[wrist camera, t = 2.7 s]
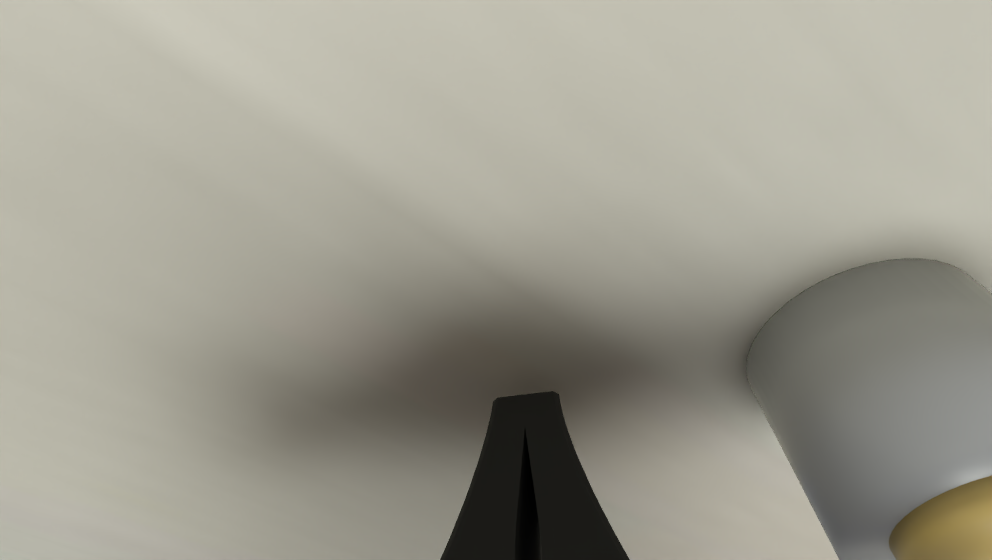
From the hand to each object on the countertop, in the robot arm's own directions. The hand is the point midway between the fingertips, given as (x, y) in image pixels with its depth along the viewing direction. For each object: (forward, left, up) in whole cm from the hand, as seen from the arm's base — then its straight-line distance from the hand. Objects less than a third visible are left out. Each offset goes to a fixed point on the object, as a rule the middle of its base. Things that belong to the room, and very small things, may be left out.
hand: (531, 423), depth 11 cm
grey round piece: (+7, 0, -1) cm, 7 cm away
